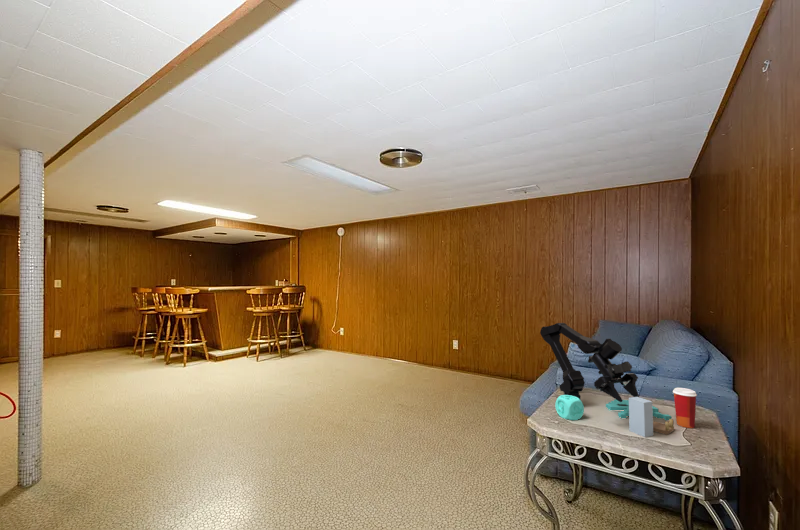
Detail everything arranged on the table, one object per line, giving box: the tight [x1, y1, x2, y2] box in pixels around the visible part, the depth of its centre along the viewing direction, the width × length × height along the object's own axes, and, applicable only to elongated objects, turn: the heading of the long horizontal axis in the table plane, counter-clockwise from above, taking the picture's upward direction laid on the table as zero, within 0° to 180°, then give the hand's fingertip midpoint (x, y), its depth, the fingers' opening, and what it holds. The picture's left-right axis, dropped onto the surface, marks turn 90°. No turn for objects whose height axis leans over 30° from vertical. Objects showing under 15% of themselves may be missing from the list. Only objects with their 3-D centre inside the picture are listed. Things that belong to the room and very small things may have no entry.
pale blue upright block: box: [628, 396, 654, 438], centre depth 136 cm, size 6×4×12 cm
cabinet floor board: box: [653, 418, 675, 435], centre depth 141 cm, size 10×8×4 cm
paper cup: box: [672, 387, 698, 429], centre depth 144 cm, size 8×8×14 cm
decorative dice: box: [554, 394, 585, 421], centre depth 152 cm, size 8×8×8 cm
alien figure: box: [605, 399, 673, 421], centre depth 160 cm, size 20×2×20 cm
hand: (630, 400), depth 140 cm, fingers open, 9 cm apart
